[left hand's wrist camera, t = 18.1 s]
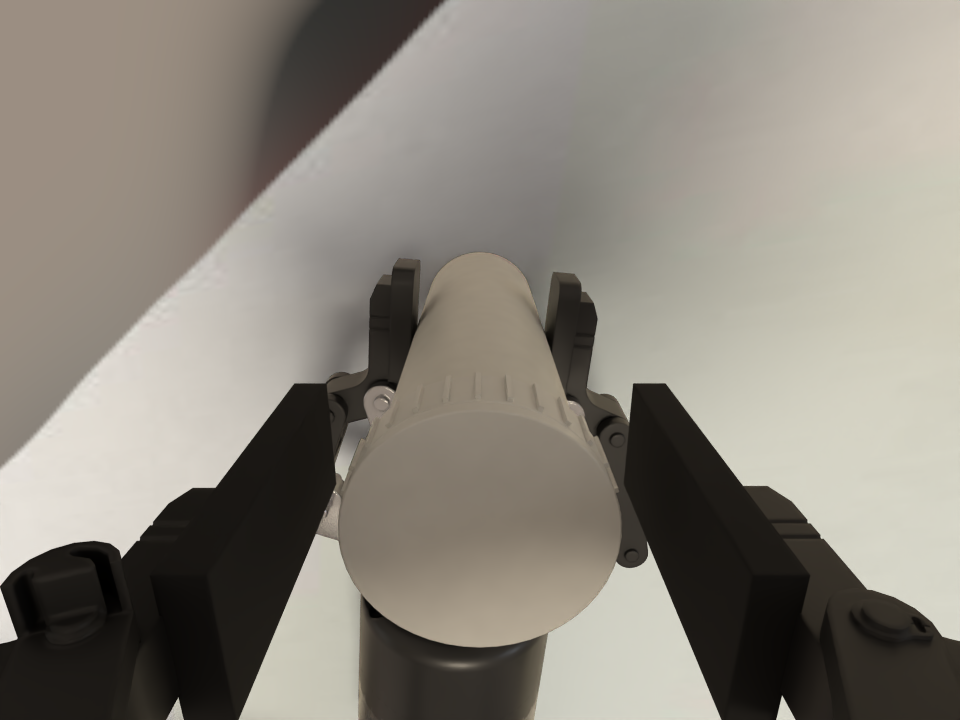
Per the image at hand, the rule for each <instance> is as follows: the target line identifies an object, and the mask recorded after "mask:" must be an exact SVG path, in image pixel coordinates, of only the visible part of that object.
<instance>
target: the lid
mask: <svg viewBox="0 0 960 720" xmlns="http://www.w3.org/2000/svg"><path fill="white" fill-rule="evenodd" d="M618 492H619V490H618V486H617V484H616V481H615V479H614V476H613V474H612V471H611V469H610V466H609V463H608V461H607V458H606V456H605V453H604V450H603V448H602V445H601V443H600V440H599V438H598V436H595V437H593V436H592V434H591V433H590V431H589V429H588V426H587V423H586V421H585V418H584V417H583V416H582V414H581V415H579V416H577V415H576V414H575V413H574V411H572V410H571V409H570V408H569V407H568V406H566V403H565V400H564V399H563V398H562V397H561V396H560V397H559V398H558V399H557V398H556V397H554V396H552V395H551V394H549V393H548V392H546V391H544V390H541V389H540V386H539V384H536V383H534V384H533V385H530V384H527V383H524V382H521V381H517V380H514V379H511V376H510V375H505V378H503V377H498V376H482V375H481V372H476V373H475V376H462V377H456V378H451V375H449V376H445V380H442V381H439V382H436V383H433V384H430V385H427V386H425V387H424V386H423V384H421V385H419V386H417V390H416V391H414V392H412V393H411V394H409V395H407V396H406V397H404V398H403V399H401V400H400V401H399V400H398V399H397V398H396V399H395V400H394V401H393V403H392V406H391V408H390V409H389V410H387V411H386V412H385V413H384V414H383V416H382V417H381V418H380V419H379V418H378V417H375V419H374V420H373V422H372V425H371V428H370V430H369V433H368V435H367V437H366V439H365V440H364V439H362V438H361V440H360V442H359V444H358V447H357V449H356V452H355V454H354V457H353V459H352V462H351V464H350V467H349V472H348V474H347V477H346V479H345V482H344V484H343V487H342V489H341V493H340V495H341V496H343V498H342V501H341V505H340V510H339V516H338V539H339V545H340V550H341V555H342V558H343V561H344V563H345V566H346V569H347V571H348V573H349V575H350V577H351V579H352V581H353V583H354V584H355V585H356V587H357V588H358V590H359V591H360V593H361V594H362V595H363V596H364V598H365V599H366V600H367V601H368V602H369V603H370V604H371V605H372V606H373V607H374V608H375V609H376V610H377V611H379V612H380V613H381V614H382V615H383V616H385V617H386V618H387V619H389V620H390V621H392V622H393V623H395V624H396V625H398V626H399V627H401V628H403V629H405V630H407V631H409V632H411V633H413V634H416V635H418V636H421V637H424V638H426V639H429V640H433V641H437V642H440V643H444V644H449V645H456V646H463V647H497V646H504V645H510V644H516V643H519V642H523V641H527V640H531V639H533V638H536V637H539V636H541V635H544V634H546V633H548V632H550V631H552V630H554V629H556V628H558V627H560V626H562V625H563V624H565V623H566V622H568V621H569V620H571V619H572V618H574V617H575V616H576V615H578V614H579V613H580V612H581V611H582V610H583V609H585V608H586V607H587V606H588V605H589V604H590V603H591V602H592V600H593V599H594V598H595V597H596V596H597V595H598V594H599V592H600V591H601V589H602V588H603V586H604V585H605V584H606V582H607V580H608V578H609V576H610V574H611V572H612V570H613V568H614V566H615V563H616V560H617V557H618V554H619V549H620V543H621V538H622V519H621V511H620V505H619V502H618V499H617V496H616V493H618Z"/></svg>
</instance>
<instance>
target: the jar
mask: <svg viewBox="0 0 960 720" xmlns="http://www.w3.org/2000/svg"><path fill="white" fill-rule="evenodd" d="M476 372H481V375H482V376H498V377H503V378H505V375H510V376H511V379H514V380H517V381H521V382H524V383H527V384H530V385H533V384H534V383H536V384H539V386H540V389H541V390H544V391H546V392H548V393H549V394H551V395H552V396H554V397H556V398H557V399H558V398H559V397H560V396H561V397H562V398H563V399H564V400H565V403H566V406H568V407H569V405H568V402H567V399H566V396H565V393H564V390H563V387H562V384H561V381H560V378H559V375H558V372H557V369H556V366H555V363H554V360H553V357H552V354H551V351H550V348H549V345H548V342H547V339H546V336H545V333H544V330H543V327H542V324H541V321H540V318H539V315H538V312H537V309H536V306H535V303H534V300H533V297H532V294H531V291H530V288H529V285H528V283H527V280H526V278H525V277H524V275H523V274H522V272H521V271H520V270H519V269H518V268H517V267H516V266H515V265H514V264H513V263H511V262H510V261H508V260H507V259H505V258H503V257H501V256H498V255H495V254H492V253H486V252H474V253H468V254H464V255H461V256H459V257H457V258H455V259H453V260H451V261H450V262H448V263H447V264H446V265H445V266H444V267H443V268H442V269H441V270H440V271H439V272H438V273H437V275H436V277H435V278H434V280H433V282H432V284H431V287H430V290H429V293H428V296H427V299H426V302H425V305H424V308H423V311H422V314H421V317H420V320H419V323H418V326H417V329H416V332H415V335H414V338H413V341H412V344H411V347H410V350H409V353H408V356H407V359H406V362H405V365H404V368H403V371H402V374H401V377H400V380H399V383H398V386H397V389H396V392H395V395H394V398H393V401H394V400H395V399H396V398H397V399H398V400H399V401H400V400H401V399H403V398H404V397H406V396H407V395H409V394H411V393H412V392H414V391H416V390H417V386H419V385H421V384H423V386H424V387H425V386H427V385H430V384H433V383H436V382H439V381H442V380H445V376H449V375H451V378H456V377H462V376H475V373H476ZM393 401H392V403H393ZM391 406H392V404H391ZM390 408H391V407H390Z"/></svg>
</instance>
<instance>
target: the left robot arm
mask: <svg viewBox="0 0 960 720" xmlns="http://www.w3.org/2000/svg"><path fill="white" fill-rule="evenodd" d="M335 486H336V474H335V463H334V453H333V443H332V432H331V422H330V412H329V401H328V391H327V384H294V385H293V386H292V388H291V389H290V390H289V392H288V393H287V394H286V396H285V397H284V398H283V399H282V401H281V402H280V403H279V405H278V406H277V407H276V409H275V410H274V411H273V413H272V414H271V415H270V417H269V418H268V419H267V421H266V422H265V423H264V425H263V426H262V427H261V429H260V430H259V431H258V433H257V434H256V435H255V436H254V438H253V439H252V440H251V442H250V443H249V444H248V446H247V447H246V448H245V450H244V451H243V452H242V454H241V455H240V456H239V458H238V459H237V460H236V462H235V463H234V464H233V466H232V467H231V468H230V470H229V471H228V472H227V473H226V475H225V476H224V477H223V479H222V480H221V481H220V483H219V484H218V485H217V487H216V488H192V489H191V490H189V491H187V492H186V493H184V494H183V495H181V496H180V497H178V498H177V499H175V500H173V501H172V502H170V503H169V504H168V505H167V506H166V507H165V509H164V510H163V511H162V512H161V513H160V514H159V516H158V517H157V518H156V519H155V520H154V521H153V525H150V526H149V527H148V528H147V530H146V531H145V532H144V533H143V534H142V535H141V537H140V541H136V543H135V544H134V545H133V546H132V547H131V548H130V550H129V551H128V552H127V553H126V554H125V555H124V557H123V558H122V559H121V555H120V551H119V550H118V549H117V548H115V547H114V546H113V545H111V544H110V543H104V542H98V541H89V542H79V543H72V544H69V545H65V546H62V547H58V548H55V549H51V550H49V551H47V552H45V553H43V554H41V555H39V556H36V557H34V558H32V559H30V560H28V561H27V562H26V563H24V564H23V565H21V566H20V567H19V568H17V569H16V570H14V571H13V572H12V573H11V574H10V575H9V576H8V577H7V579H6V580H5V581H4V582H3V583H2V585H1V586H0V588H1V591H2V594H3V597H4V600H5V603H6V606H7V608H8V611H9V614H10V617H11V620H12V623H13V626H14V629H15V631H16V634H17V637H18V639H17V640H14V641H11V642H7V643H2V644H0V720H166V719H167V717H168V715H169V713H170V712H171V710H172V708H173V706H174V704H175V702H176V700H177V699H178V697H179V701H180V705H181V710H182V714H183V718H184V720H239V717H240V715H241V712H242V710H243V708H244V705H245V703H246V700H247V698H248V696H249V693H250V691H251V688H252V686H253V684H254V681H255V679H256V676H257V674H258V672H259V669H260V667H261V664H262V662H263V660H264V657H265V655H266V652H267V650H268V647H269V645H270V643H271V640H272V638H273V635H274V633H275V631H276V628H277V626H278V623H279V621H280V619H281V616H282V614H283V611H284V609H285V607H286V604H287V602H288V599H289V597H290V595H291V592H292V590H293V587H294V585H295V582H296V580H297V578H298V575H299V573H300V570H301V568H302V566H303V563H304V561H305V558H306V556H307V554H308V551H309V549H310V546H311V544H312V542H313V539H314V537H315V534H316V532H317V530H318V527H319V525H320V522H321V520H322V518H323V515H324V513H325V510H326V508H327V505H328V503H329V501H330V498H331V496H332V493H333V491H334V489H335ZM624 486H625V489H626V491H627V493H628V496H629V498H630V501H631V503H632V505H633V508H634V510H635V513H636V515H637V518H638V520H639V522H640V525H641V527H642V530H643V532H644V534H645V537H646V539H647V542H648V544H649V546H650V549H651V551H652V554H653V556H654V558H655V561H656V563H657V566H658V568H659V570H660V573H661V575H662V578H663V580H664V582H665V585H666V587H667V590H668V592H669V595H670V597H671V599H672V602H673V604H674V607H675V609H676V611H677V614H678V616H679V619H680V621H681V623H682V626H683V628H684V631H685V633H686V635H687V638H688V640H689V643H690V645H691V647H692V650H693V652H694V655H695V657H696V660H697V662H698V664H699V667H700V669H701V672H702V674H703V676H704V679H705V681H706V684H707V686H708V688H709V691H710V693H711V696H712V698H713V700H714V703H715V705H716V708H717V710H718V712H719V715H720V717H721V720H776V718H777V714H778V710H779V705H780V701H781V697H782V696H783V697H784V699H785V701H786V703H787V705H788V707H789V708H790V710H791V712H792V714H793V716H794V718H795V719H796V720H960V641H956V640H952V639H948V638H945V637H942V636H941V634H940V633H939V632H938V630H937V629H936V627H935V626H934V625H933V623H932V622H931V621H930V620H928V619H927V618H926V617H925V616H924V615H922V614H921V613H920V612H919V611H917V610H916V609H915V608H913V607H911V606H909V605H908V604H906V603H904V602H902V601H900V600H898V599H896V598H894V597H891V596H888V595H885V594H882V593H879V592H876V591H873V590H867V589H866V588H865V586H864V585H863V584H862V583H861V582H860V581H859V579H858V578H857V577H856V576H855V575H854V574H853V572H852V571H851V570H850V569H849V568H848V567H847V565H846V564H845V563H844V562H843V561H842V560H841V558H840V557H839V556H838V555H837V554H836V553H835V551H834V550H833V549H832V548H831V547H830V546H829V545H828V543H827V542H826V541H825V540H824V539H821V538H820V534H819V533H818V532H817V531H816V529H815V528H814V527H813V526H812V525H811V524H810V523H808V522H807V519H806V518H805V517H804V515H803V514H802V513H801V512H800V511H799V510H798V508H797V507H796V506H795V505H794V504H793V503H792V502H791V501H790V500H788V499H787V498H785V497H784V496H782V495H781V494H779V493H777V492H776V491H774V490H773V489H771V488H770V487H768V486H743V485H742V484H741V483H740V481H739V480H738V479H737V477H736V476H735V475H734V473H733V472H732V471H731V470H730V468H729V467H728V466H727V464H726V463H725V462H724V460H723V459H722V458H721V456H720V455H719V454H718V452H717V451H716V450H715V448H714V447H713V446H712V444H711V443H710V442H709V440H708V439H707V438H706V436H705V435H704V434H703V433H702V431H701V430H700V429H699V427H698V426H697V425H696V423H695V422H694V421H693V419H692V418H691V417H690V415H689V414H688V413H687V411H686V410H685V409H684V407H683V406H682V405H681V403H680V402H679V401H678V399H677V398H676V397H675V396H674V394H673V393H672V392H671V390H670V389H669V388H668V386H667V385H666V384H633V391H632V401H631V412H630V422H629V432H628V443H627V453H626V463H625V474H624Z"/></svg>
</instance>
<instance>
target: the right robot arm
mask: <svg viewBox="0 0 960 720" xmlns="http://www.w3.org/2000/svg"><path fill="white" fill-rule="evenodd" d="M419 284H420V260H413V259H402V258H399V259H398V261H397V262H396V263H395V265H394V267H393V271H392V275H383V276H382V277H381V279H380V280H379V282H378V283H377V285H376V287H375V289H374V291H373V294H372V296H371V298H370V320H369V328H370V330H369V366H368V368H367V369H366V370H364V371H362V372H358V373H354V374H349V373H345V372H338V373H335V374H333V375H332V376H331V377H330V378H329V379H328V381H327V382H326V384H327V391H328V401H329V412H330V422H331V432H332V443H333V453H334V463H335V462H336V459H337V456H338V453H339V450H340V447H341V444H342V441H343V438H344V435H345V432H346V429H347V426H348V423H350V422H354V421H358V420H362V419H366V418H368V420H369V423H370V426H371V425H372V422H373V420H374V419H375V417H378V418H379V419H380V418H381V417H382V416H383V414H384V413H385V412H386V411H387V410H389V409H390V407H391V404H392V401H393V398H394V395H395V392H396V389H397V386H398V383H399V380H400V377H401V374H402V371H403V368H404V365H405V362H406V359H407V356H408V353H409V350H410V347H411V344H412V341H413V338H414V335H415V332H416V329H417V324H418V304H419ZM596 325H597V314H596V310H595V306H594V303H593V301H592V300H591V298H590V297H589V296H588V294H587V293H586V292H581V283H580V281H579V280H578V278H577V277H576V276H575V274H570V273H558V272H553V274H552V279H551V285H550V293H549V300H548V308H547V315H546V323H545V331H544V333H545V336H546V339H547V342H548V345H549V348H550V351H551V354H552V357H553V360H554V363H555V366H556V369H557V372H558V375H559V378H560V381H561V384H562V387H563V390H564V393H565V396H566V399H567V402H568V405H569V408H570V409H571V410H572V411H574V413H575V414H576V415H577V416H579V415H581V414H582V416H583V417H584V418H585V421H586V423H587V426H588V429H589V431H590V433H591V434H592V436H593V437H595V436H598V438H599V440H600V443H601V445H602V448H603V450H604V453H605V456H606V458H607V461H608V463H609V466H610V469H611V471H612V474H613V476H614V479H615V481H616V484H617V486H618V490H619V492H618V493H616V496H617V499H618V502H619V505H620V511H621V519H622V538H621V543H620V549H619V554H618V557H617V560H616V561H617V563H618V564H619V565H621V566H623V567H626V568H634V567H637V566H640V565H641V564H642V563H644V562H645V560H646V559H647V556H648V548H647V539H646V537H645V534H644V532H643V530H642V527H641V525H640V522H639V520H638V518H637V515H636V513H635V510H634V508H633V505H632V503H631V501H630V498H629V496H628V493H627V491H626V489H625V486H624V474H625V463H626V453H627V443H628V432H629V422H628V420H627V418H626V416H625V414H624V412H623V410H622V408H621V407H620V405H619V403H618V401H617V399H616V398H615V397H613V396H611V395H609V394H600V395H599V394H597V393H595V392H593V391H591V390H589V389H587V381H588V374H589V368H590V362H591V356H592V350H593V349H592V348H593V344H594V335H595V331H596ZM335 474H336V486H335V489H334V491H333V493H332V496H331V498H330V501H329V503H328V505H327V508H326V510H325V513H324V515H323V518H322V520H321V522H320V525H319V527H318V530H317V532H316V534H319V535H322V536H325V537H329V538H332V539H335V540H338V541H339V539H338V516H339V510H340V505H341V501H342V498H343V496H341V495H340V493H341V489H342V487H343V484H344V481H343V480H342V477H341V476H340V475H339V474H338V473H335ZM547 635H548V633H546V634H544V635H541V636H539V637H536V638H533V639H531V640H527V641H523V642H519V643H516V644H510V645H504V646H497V647H463V646H456V645H449V644H444V643H440V642H437V641H433V640H429V639H426V638H424V637H421V636H418V635H416V634H413V633H411V632H409V631H407V630H405V629H403V628H401V627H399V626H398V625H396V624H395V623H393V622H392V621H390V620H389V619H387V618H386V617H385V616H383V615H382V614H381V613H380V612H379V611H377V610H376V609H375V608H374V607H373V606H372V605H371V604H370V603H369V602H368V601H367V600H366V599H365V598H364V596H363V595H362V594H361V607H360V653H359V702H358V720H534V716H535V709H536V703H537V697H538V691H539V685H540V678H541V672H542V666H543V660H544V654H545V648H546V642H547Z"/></svg>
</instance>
